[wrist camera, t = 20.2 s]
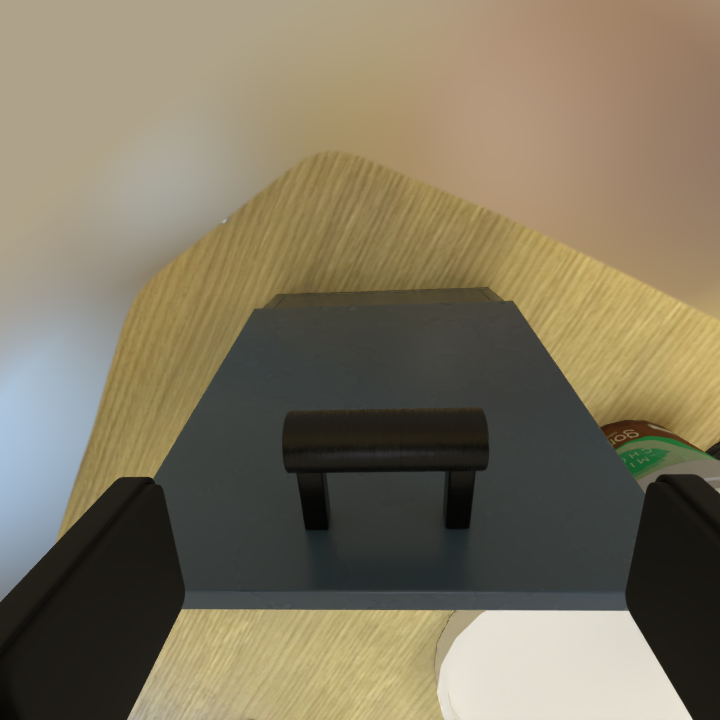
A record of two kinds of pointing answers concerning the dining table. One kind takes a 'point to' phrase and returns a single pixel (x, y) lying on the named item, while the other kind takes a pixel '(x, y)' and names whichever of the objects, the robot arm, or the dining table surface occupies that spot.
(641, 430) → the food container
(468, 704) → the plate
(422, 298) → the dark blue-grey open box
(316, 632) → the dining table surface
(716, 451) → the chess piece
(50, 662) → the robot arm
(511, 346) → the lid
